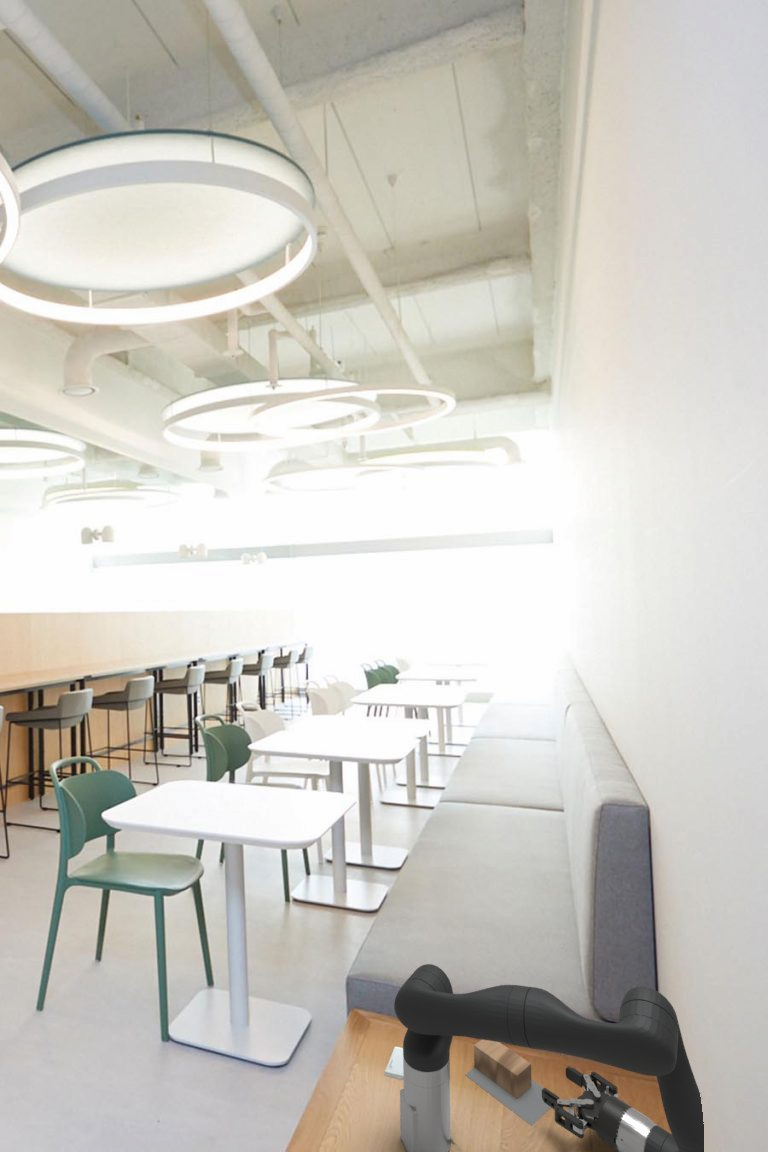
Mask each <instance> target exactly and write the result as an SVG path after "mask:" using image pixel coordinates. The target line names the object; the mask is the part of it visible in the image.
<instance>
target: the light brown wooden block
mask: <svg viewBox="0 0 768 1152" xmlns="http://www.w3.org/2000/svg"><path fill="white" fill-rule="evenodd" d="M473 1057H474V1058H473V1061H474V1062H473V1063H474V1064H473V1065H474V1066H473V1068H474V1067H475V1068H476V1069H477V1070H479V1071H480V1072H481V1073H483V1074H484V1075H485V1076H487V1077H488V1078H489V1079H491V1080H492V1081H493V1082H495V1083H496V1084H498V1085H499V1086H500V1087H502V1088H503V1089H504V1090H506V1091H507V1092H508V1093H510V1094H511V1095H512V1096H514V1097H515V1098H516V1099H518V1098H519V1097H520V1096H522V1095H523V1094H524V1093H525V1092H526V1091H527V1090H528V1089H530V1088H531V1087H532V1083H531V1079H532V1063H531V1062H529V1061H528V1060H527V1059H525V1058H524V1057H522V1056H521V1055H520V1054H517V1053H516V1052H514V1051H513V1050H512V1049H510V1048H509V1047H508V1046H505V1045H504V1043H503V1044H502V1043H501V1042H496V1041H489V1040H482V1039H480V1040H479V1041H478V1042H476V1043H475V1044H474V1045H473Z"/></svg>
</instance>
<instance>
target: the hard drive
mask: <svg viewBox="0 0 768 1152" xmlns="http://www.w3.org/2000/svg"><path fill="white" fill-rule="evenodd" d="M384 1076H385V1077H388V1078H389V1077H390V1078H394V1079H398V1080H403V1081H404V1078H403V1047H400V1046H394V1048H393V1050H392V1053H391V1055H390V1057H389V1060H388V1062H387V1065H386V1067H385V1070H384Z"/></svg>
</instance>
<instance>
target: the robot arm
mask: <svg viewBox="0 0 768 1152" xmlns="http://www.w3.org/2000/svg"><path fill="white" fill-rule="evenodd" d="M393 1005H394V1006H393V1007H394V1013H395V1015H396V1017H397V1019H398V1020H399V1022H400V1023H401V1024H402V1025H403V1026H404V1027H405V1028H406V1031H405V1032H406V1033H405V1035H404V1037H403V1042H402V1048H403V1078H404V1080H403V1088H401V1089H399V1115H400V1116H399V1117H400V1118H399V1120H400V1121H399V1123H400V1124H399V1125H400V1127H399V1128H400V1132H399V1134H400V1139H401V1141H402V1143H403V1146H404V1148H405V1150H406V1152H449V1151H450V1148H451V1139H452V1137H451V1134H452V1130H451V1084H450V1083H451V1081H450V1080H451V1075H450V1074H451V1072H450V1071H451V1069H450V1068H451V1063H450V1061H451V1059H450V1057H451V1056H450V1054H451V1053H450V1051H451V1045H452V1042H453V1037H461V1038H462V1037H464V1038H469V1039H470V1038H471V1039H476V1040H477V1039H478V1040H489V1041H496V1042H500V1043H501V1044H502V1043H503V1044H506V1045H511V1046H515V1047H516V1046H517V1047H520V1048H521V1047H522V1048H526V1049H527V1048H528V1049H532V1050H540V1051H548V1052H553V1053H559V1054H564V1055H568V1056H573V1057H578V1058H583V1059H586V1060H589V1061H594V1062H598V1063H601V1064H605V1065H608V1066H612V1067H614V1068H617V1069H622V1070H624V1071H628V1072H632V1073H635V1074H640V1075H643V1076H648V1077H656V1080H657V1084H658V1087H659V1092H660V1097H661V1102H662V1107H663V1111H664V1114H665V1118H666V1121H667V1125H668V1127H669V1130H670V1132H671V1133H670V1132H669V1131H667V1130H665V1128H663V1127H661V1126H659V1125H658V1124H657V1123H655V1122H654V1121H653V1120H651V1118H649V1117H648V1116H647V1115H645V1114H643V1113H642V1112H640V1111H639V1110H637V1109H635V1108H634V1107H632V1106H631V1105H630V1104H628V1103H626V1102H624V1101H623V1100H621V1099H620V1098H619V1096H618V1095H619V1090H618V1087H617V1085H615V1084H613V1083H612V1082H610V1080H608V1079H606V1078H604V1077H603V1076H602V1075H600V1073H597V1072H596V1071H590V1074H586V1073H585V1074H584V1073H582V1072H580V1071H579V1070H578V1069H576V1068H574V1067H571V1066H567V1067H566V1068H565V1077H566V1079H568V1080H569V1081H570V1082H572V1083H574V1084H575V1085H577V1087H580V1088H583V1090H584V1091H583V1092H582V1094H581V1095H580V1096H578V1097H577V1098H574V1097H570V1098H569V1099H564V1098H560V1097H559V1096H558V1095H556V1094H555V1093H554V1092H552V1091H551V1090H549V1089H548V1088H546V1087H543V1089H542V1099H543V1101H544V1103H546V1104H547V1105H549V1106H550V1107H551V1108H550V1109H553V1111H554V1123H556V1124H557V1125H560V1127H562V1128H564V1129H565V1130H567V1131H568V1132H570V1133H571V1134H572V1135H574V1136H576V1137H577V1138H579V1139H583V1138H584V1136H585V1131H586V1130H587V1129H591V1130H593V1131H595V1133H596V1134H597V1137H598V1138H599V1139H600V1140H601V1141H602V1142H604V1143H605V1144H607V1145H608V1146H610V1148H612V1149H614V1150H615V1151H616V1152H704V1124H703V1123H704V1122H703V1112H702V1104H701V1097H702V1096H701V1097H700V1094H701V1092H699V1091H700V1089H699V1086H698V1084H697V1081H696V1079H695V1075H694V1073H693V1070H692V1067H691V1063H690V1060H689V1056H688V1054H687V1050H686V1048H685V1044H684V1041H683V1037H682V1036H683V1035H682V1032H681V1028H680V1024H679V1023H680V1022H679V1020H678V1015H677V1011H676V1010H675V1008H674V1005H672V1003H671V1002H670V1001H669V1000H668V998H666V996H664V995H663V994H662V993H661V992H659V991H658V990H655V989H653V988H651V987H647V986H635V987H633V988H630V989H629V990H627V992H626V993H625V994H624V996H623V999H622V1000H621V1004H620V1007H619V1015H618V1020H617V1022H615V1023H614V1022H613V1023H612V1022H606V1021H600V1020H595V1019H591V1018H587V1017H584V1016H582V1015H580V1014H579V1013H577V1012H576V1011H574V1010H573V1009H572V1008H570V1007H569V1006H568V1005H567V1004H566V1003H564V1002H563V1001H562V1000H560V999H559V998H558V997H557V996H556V995H554V994H552V993H551V992H550V991H547V990H546V989H542V988H539V987H534V986H529V985H528V986H526V985H520V984H518V985H517V984H499V985H496V986H491V987H487V988H484V989H478V990H475V991H472V992H466V993H454V991H453V986H452V983H451V981H450V978H449V977H448V976H447V974H446V972H445V971H444V970H443V969H441V967H439V966H437V965H436V964H430V963H427V964H422V965H420V966H419V967H418V968H416V969H415V970H414V971H413V973H412V974H411V975H409V977H408V978H407V979H406V981H405V982H404V983H403V984H402V986H401V987H400V988H399V990H398V992H397V993H396V996H395V998H394V1002H393ZM575 1107H576V1112H575ZM564 1108H569V1109H564Z"/></svg>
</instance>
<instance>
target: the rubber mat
mask: <svg viewBox="0 0 768 1152" xmlns="http://www.w3.org/2000/svg"><path fill="white" fill-rule="evenodd" d="M464 1075H465V1077H467V1078H468V1079H470V1080H471V1081H472V1082H474V1083H475V1084H476V1085H477V1086H478V1087H480V1088H481V1089H482V1090H484V1091H485V1092H486V1093H487V1094H489V1095H490V1096H491V1097H493V1098H494V1099H496V1100H497V1101H498V1102H499V1103H501V1104H502V1105H503V1106H504V1107H506V1108H507V1109H508V1110H510V1111H511V1112H513V1113H514V1114H515V1115H516V1116H518V1117H519V1118H521V1119H522V1120H523V1121H524V1122H525V1123H527V1124H528V1125H529V1126H531V1127H533V1126H534V1124H535V1123H537V1122H538V1121H539V1120H540V1119H541V1118H542V1117H543V1116H544V1115H545V1114H546V1113H547V1112H548V1111H550V1110H551V1109H552V1108H551V1107H550V1106H549V1105H547V1104H546V1103H544V1101H543V1099H542V1089H543V1088H544V1087H543V1086H542V1085H540V1084H539V1083H538V1082H536V1081H535V1080H533V1079H532V1078H531V1083H532V1087H531V1088H530V1089H528V1090H527V1091H526V1092H525V1093H524V1094H523V1095H522V1096H520V1097H519V1098H518V1099H516V1098H515V1097H514V1096H512V1095H511V1094H510V1093H508V1092H507V1091H506V1090H504V1089H503V1088H502V1087H500V1086H499V1085H498V1084H496V1083H495V1082H493V1081H492V1080H491V1079H489V1078H488V1077H487V1076H485V1075H484V1074H483V1073H481V1072H480V1071H479V1070H477V1069H476V1068H475V1067H474V1066H473V1068H472V1069H471V1070H469V1071H467V1073H465V1074H464Z"/></svg>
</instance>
